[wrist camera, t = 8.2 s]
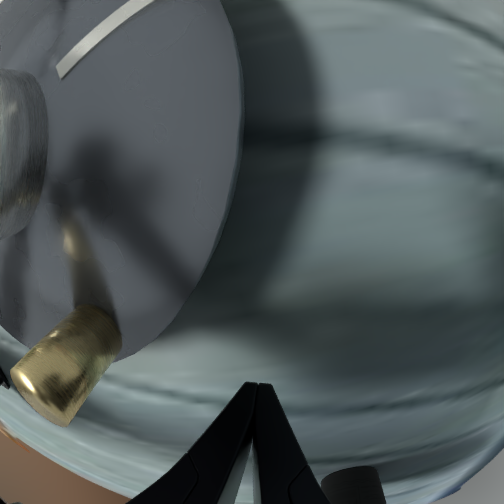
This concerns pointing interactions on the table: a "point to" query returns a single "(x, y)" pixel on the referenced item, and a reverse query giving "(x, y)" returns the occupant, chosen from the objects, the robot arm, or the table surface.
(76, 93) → the platter
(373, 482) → the drinking cup
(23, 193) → the cover
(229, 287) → the table surface
